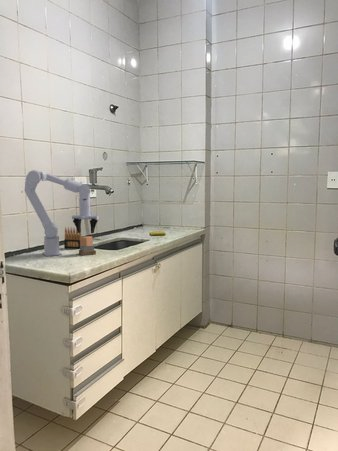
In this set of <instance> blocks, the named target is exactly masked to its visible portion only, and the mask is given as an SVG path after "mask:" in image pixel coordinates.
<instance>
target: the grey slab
mask: <svg viewBox="0 0 338 451" xmlns="http://www.w3.org/2000/svg"><path fill="white" fill-rule="evenodd" d="M79 250H81V251H84V252H85V251H93V250H95V245H91V246H80V249H79Z"/></svg>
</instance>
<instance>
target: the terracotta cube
mask: <svg viewBox="0 0 338 451" xmlns="http://www.w3.org/2000/svg"><path fill="white" fill-rule="evenodd" d="M93 244H94V241H93V236H89V235H85V236H82V237H80V246H91V245H93Z"/></svg>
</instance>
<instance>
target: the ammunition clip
mask: <svg viewBox="0 0 338 451" xmlns="http://www.w3.org/2000/svg"><path fill="white" fill-rule="evenodd" d="M80 237H83V236H82V232H81V233H78V231H77V228H76V227H73V228H72V227H65V228H64V241H63V242H64V243H63V244H64V246H63V247H64V249H75V250H80Z"/></svg>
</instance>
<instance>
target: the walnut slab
mask: <svg viewBox="0 0 338 451" xmlns="http://www.w3.org/2000/svg"><path fill="white" fill-rule="evenodd" d="M96 252H97V251H96V250H95V249H94V250H93V251H85V252H84V251H81V250H80V249H78V254H79V255H80V256H82V257H85V256H94V255H96V254H97V253H96Z"/></svg>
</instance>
